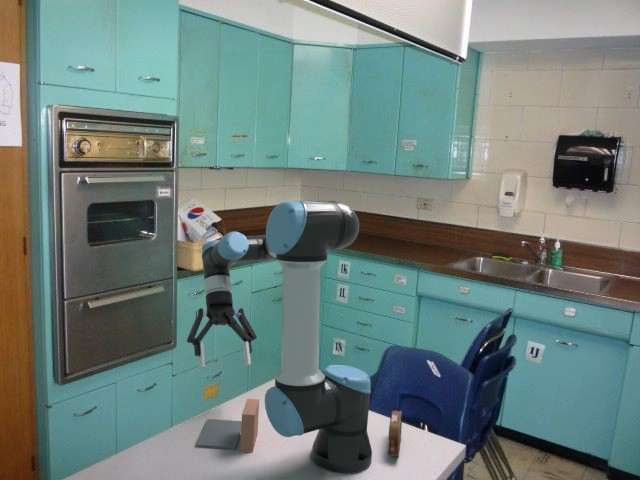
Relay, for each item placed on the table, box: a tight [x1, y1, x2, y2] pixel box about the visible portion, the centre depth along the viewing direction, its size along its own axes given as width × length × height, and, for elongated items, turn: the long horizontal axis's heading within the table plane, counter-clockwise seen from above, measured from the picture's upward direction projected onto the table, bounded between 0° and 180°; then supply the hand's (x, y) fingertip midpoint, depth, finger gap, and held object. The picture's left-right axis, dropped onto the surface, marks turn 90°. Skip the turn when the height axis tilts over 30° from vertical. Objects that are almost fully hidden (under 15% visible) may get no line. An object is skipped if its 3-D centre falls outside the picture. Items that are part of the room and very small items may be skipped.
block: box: [239, 398, 260, 453], centre depth 148 cm, size 3×9×10 cm, turn 179°
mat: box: [195, 418, 242, 451], centre depth 152 cm, size 10×14×1 cm
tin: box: [388, 410, 403, 458], centre depth 151 cm, size 15×3×8 cm, turn 168°
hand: (225, 366), depth 159 cm, fingers open, 13 cm apart
